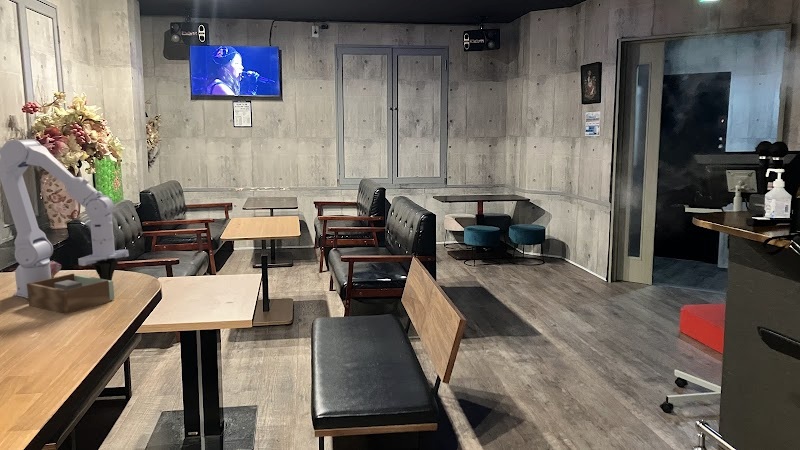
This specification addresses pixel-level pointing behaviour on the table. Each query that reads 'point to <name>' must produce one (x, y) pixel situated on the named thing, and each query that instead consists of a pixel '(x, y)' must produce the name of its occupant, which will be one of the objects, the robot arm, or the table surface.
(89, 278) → the tray
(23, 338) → the table surface
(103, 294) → the dock housing
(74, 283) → the grey upright block
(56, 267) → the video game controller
